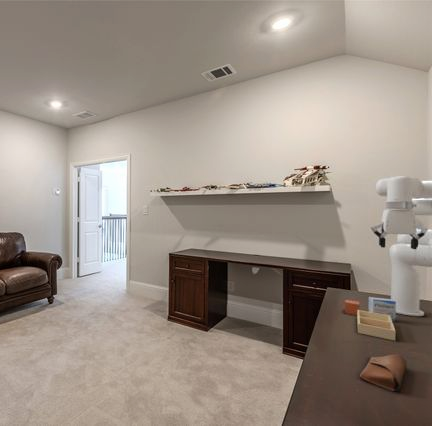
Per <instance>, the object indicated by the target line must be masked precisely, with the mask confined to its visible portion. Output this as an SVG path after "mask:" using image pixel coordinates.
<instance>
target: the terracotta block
mask: <svg viewBox="0 0 432 426" xmlns="http://www.w3.org/2000/svg"><path fill="white" fill-rule="evenodd" d="M357 310H360V301H356V300H350V299H345V301H344V314H348V315H353V316H357Z"/></svg>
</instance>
